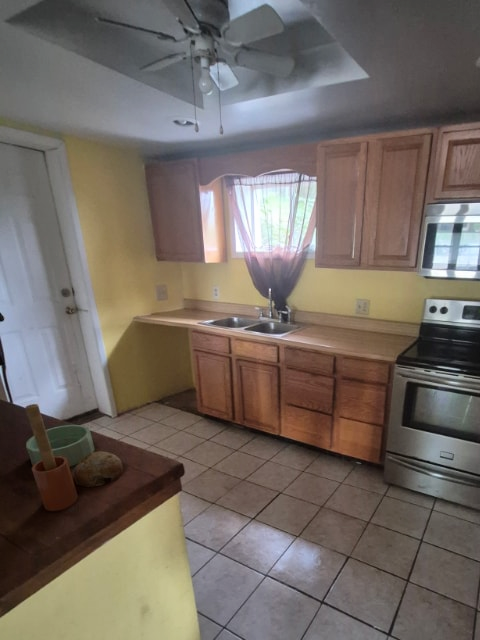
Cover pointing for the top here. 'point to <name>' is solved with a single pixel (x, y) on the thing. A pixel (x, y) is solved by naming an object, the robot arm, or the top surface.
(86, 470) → the bread roll
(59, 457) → the crock
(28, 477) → the top surface
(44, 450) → the stirring stick
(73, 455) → the bowl
